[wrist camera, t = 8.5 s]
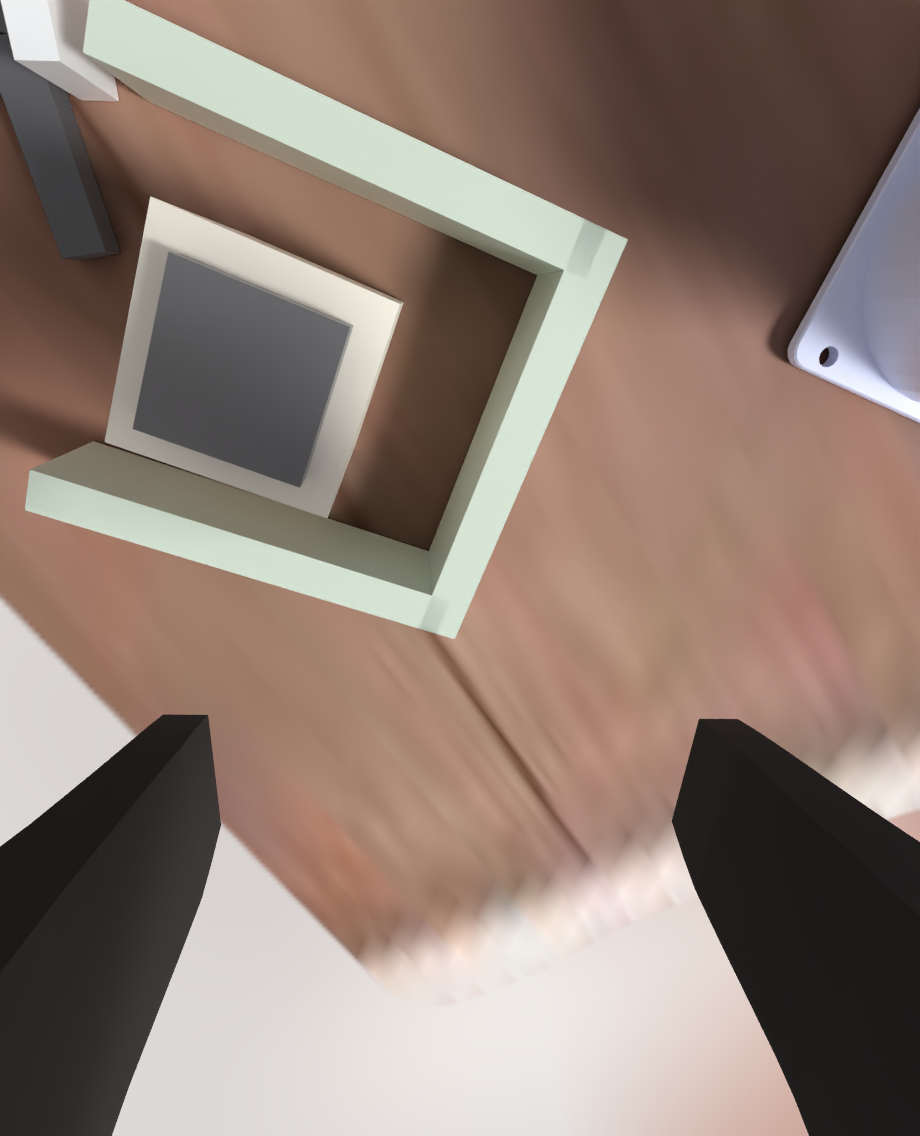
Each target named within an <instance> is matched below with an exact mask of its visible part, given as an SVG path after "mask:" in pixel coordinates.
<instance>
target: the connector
mask: <svg viewBox="0 0 920 1136" xmlns="http://www.w3.org/2000/svg"><path fill="white" fill-rule="evenodd" d="M403 303H404V302H403V301H401V300H398V299H396V298H394V297H391V296H389V295H387V294H384V293H382V292H380V291H377V290H375V289H373V288H371V287H368V286H366V285H364V284H361V283H359V282H357V281H354V280H352V279H350V278H347V277H345V276H343V275H341V274H338V273H336V272H334V271H331V270H329V269H327V268H324V267H322V266H320V265H317V264H315V263H313V262H311V261H308V260H306V259H304V258H301V257H299V256H297V255H294V254H292V253H290V252H287V251H285V250H283V249H281V248H278V247H276V246H274V245H271V244H269V243H267V242H264V241H262V240H260V239H257V238H255V237H253V236H250V235H248V234H246V233H243V232H241V231H238V230H236V229H233V228H230V227H228V226H225V225H223V224H220V223H218V222H215V221H212V220H210V219H207V218H205V217H202V216H200V215H197V214H195V213H192V212H189V211H187V210H184V209H182V208H179V207H177V206H174V205H171V204H169V203H166V202H164V201H161V200H159V199H156V198H154V197H151V196H150V201H149V206H148V212H147V217H146V222H145V228H144V233H143V238H142V244H141V249H140V255H139V260H138V265H137V271H136V276H135V281H134V287H133V292H132V297H131V303H130V308H129V313H128V319H127V324H126V330H125V335H124V340H123V346H122V351H121V356H120V362H119V367H118V372H117V378H116V383H115V389H114V394H113V399H112V405H111V410H110V415H109V421H108V426H107V431H106V437H105V442H106V443H109V444H112V445H115V446H118V447H120V448H123V449H126V450H129V451H132V452H135V453H138V454H141V455H144V456H147V457H149V458H152V459H155V460H158V461H161V462H164V463H167V464H170V465H173V466H176V467H179V468H181V469H184V470H187V471H190V472H193V473H196V474H199V475H202V476H205V477H208V478H211V479H213V480H216V481H219V482H222V483H225V484H228V485H231V486H234V487H237V488H240V489H242V490H245V491H248V492H251V493H254V494H257V495H260V496H263V497H266V498H269V499H272V500H274V501H277V502H280V503H283V504H286V505H289V506H292V507H295V508H298V509H301V510H303V511H306V512H309V513H312V514H315V515H318V516H321V517H324V518H328V516H329V513H330V511H331V508H332V505H333V503H334V500H335V497H336V495H337V492H338V490H339V487H340V484H341V482H342V479H343V476H344V474H345V471H346V468H347V466H348V463H349V461H350V458H351V455H352V453H353V450H354V447H355V444H356V441H357V439H358V436H359V433H360V430H361V427H362V424H363V421H364V418H365V415H366V412H367V409H368V406H369V403H370V400H371V397H372V394H373V391H374V388H375V386H376V383H377V380H378V377H379V374H380V371H381V368H382V365H383V362H384V359H385V356H386V353H387V350H388V347H389V344H390V341H391V338H392V335H393V332H394V330H395V327H396V324H397V321H398V318H399V315H400V312H401V309H402V306H403Z"/></svg>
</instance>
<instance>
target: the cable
mask: <svg viewBox="0 0 920 1136" xmlns="http://www.w3.org/2000/svg"><path fill="white" fill-rule="evenodd" d="M0 93H1V95H2V98H3V101H4V103H5V106H6V109H7V112H8V114H9V117H10V120H11V122H12V125H13V128H14V130H15V133H16V136H17V139H18V141H19V144H20V147H21V149H22V152H23V155H24V157H25V160H26V163H27V165H28V168H29V171H30V174H31V176H32V179H33V182H34V184H35V187H36V190H37V192H38V195H39V198H40V201H41V203H42V206H43V209H44V211H45V214H46V217H47V219H48V222H49V225H50V228H51V230H52V233H53V236H54V238H55V241H56V244H57V246H58V249H59V252H60V254H61V257H62V258H64V259H72V260H84V259H90V258H97V257H103V256H109V255H115V254H121V253H120V250H119V247H118V244H117V241H116V238H115V235H114V232H113V229H112V226H111V223H110V220H109V217H108V214H107V211H106V208H105V205H104V202H103V199H102V196H101V193H100V190H99V187H98V184H97V181H96V178H95V175H94V172H93V169H92V167H91V164H90V161H89V158H88V155H87V152H86V149H85V146H84V143H83V140H82V137H81V134H80V131H79V128H78V125H77V122H76V119H75V116H74V113H73V110H72V107H71V104H70V101H69V98H68V95H67V92H66V91H65V90H63V89H62V88H60V87H58V86H57V85H55V84H53V83H52V82H50V81H48V80H47V79H45V78H43V77H42V76H40V75H38V74H37V73H35V72H33V71H32V70H30V69H28V68H27V67H25V66H23V65H22V64H20V63H19V62H17V61H15V60H14V57H13V52H12V48H11V44H10V39H9V35H8V31H7V26H6V22H5V18H4V13H3V9H2V4H1V0H0Z"/></svg>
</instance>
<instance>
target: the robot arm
mask: <svg viewBox="0 0 920 1136" xmlns="http://www.w3.org/2000/svg"><path fill="white" fill-rule="evenodd" d="M825 348H828V349H829V357H828V359H827V361H826V362H825V363H824V364H822V365H821V364H820V363H819V356H820V353H821V352H822V351H823V350H824V349H825ZM788 358H789V361H790V363H791V364H792V365H794V366H795V367H797V368H799V369H801V370H803V371H805V372H808V373H810V374H812V375H814V376H816V377H819V378H821V379H823V380H825V381H827V382H830V383H832V384H834V385H836V386H838V387H841V388H843V389H845V390H847V391H849V392H852V393H854V394H856V395H858V396H860V397H862V398H865V399H867V400H869V401H871V402H873V403H876V404H878V405H880V406H882V407H884V408H887V409H889V410H891V411H893V412H895V413H898V414H900V415H902V416H904V417H906V418H909V419H911V420H913V421H915V422H917V423H920V108H919V110H918V112H917V114H916V115H915V117H914V119H913V121H912V123H911V124H910V126H909V128H908V130H907V132H906V134H905V135H904V137H903V139H902V141H901V143H900V144H899V146H898V148H897V150H896V152H895V153H894V155H893V157H892V159H891V161H890V162H889V164H888V166H887V168H886V170H885V172H884V173H883V175H882V177H881V179H880V181H879V182H878V184H877V186H876V188H875V190H874V191H873V193H872V195H871V197H870V199H869V201H868V202H867V204H866V206H865V208H864V210H863V211H862V213H861V215H860V217H859V219H858V220H857V222H856V224H855V226H854V228H853V229H852V231H851V233H850V235H849V237H848V239H847V240H846V242H845V244H844V246H843V248H842V249H841V251H840V253H839V255H838V257H837V258H836V260H835V262H834V264H833V266H832V268H831V269H830V271H829V273H828V275H827V277H826V278H825V280H824V282H823V284H822V286H821V287H820V289H819V291H818V293H817V295H816V297H815V298H814V300H813V302H812V304H811V306H810V307H809V309H808V311H807V313H806V315H805V316H804V318H803V320H802V322H801V324H800V325H799V327H798V329H797V331H796V333H795V335H794V336H793V338H792V340H791V342H790V345H789V347H788ZM672 823H673V826H674V829H675V833H676V836H677V839H678V842H679V845H680V848H681V851H682V854H683V857H684V860H685V863H686V866H687V868H688V871H689V874H690V877H691V879H692V882H693V885H694V888H695V890H696V892H697V894H698V896H699V899H700V901H701V903H702V905H703V907H704V909H705V911H706V913H707V916H708V918H709V920H710V922H711V924H712V926H713V928H714V930H715V932H716V934H717V937H718V939H719V941H720V943H721V945H722V947H723V949H724V951H725V953H726V955H727V957H728V959H729V961H730V963H731V965H732V967H733V970H734V972H735V973H736V976H737V978H738V980H739V982H740V984H741V986H742V988H743V990H744V992H745V994H746V996H747V998H748V1000H749V1002H750V1004H751V1006H752V1008H753V1010H754V1013H755V1015H756V1017H757V1019H758V1021H759V1023H760V1025H761V1027H762V1029H763V1030H764V1033H765V1035H766V1037H767V1039H768V1041H769V1043H770V1045H771V1047H772V1049H773V1052H774V1053H775V1056H776V1058H777V1060H778V1062H779V1065H780V1067H781V1069H782V1071H783V1073H784V1076H785V1078H786V1080H787V1083H788V1085H789V1087H790V1089H791V1092H792V1094H793V1096H794V1098H795V1101H796V1103H797V1106H798V1108H799V1111H800V1114H801V1116H802V1119H803V1121H804V1124H805V1126H806V1129H807V1131H808V1134H809V1136H920V842H919V841H917V840H916V839H914V838H913V837H911V836H910V835H908V834H906V833H905V832H904V831H902V830H901V829H899V828H898V827H896V826H895V825H893V824H892V823H890V822H889V821H887V820H886V819H884V818H883V817H881V816H880V815H878V814H877V813H875V812H874V811H872V810H871V809H870V808H868V807H867V806H865V805H864V804H862V803H861V802H859V801H858V800H856V799H855V798H854V797H852V796H851V795H849V794H848V793H846V792H845V791H843V790H842V789H841V788H839V787H838V786H836V785H835V784H833V783H832V782H830V781H829V780H828V779H826V778H825V777H823V776H822V775H820V774H819V773H818V772H816V771H815V770H813V769H812V768H810V767H809V766H808V765H806V764H805V763H803V762H802V761H800V760H799V759H798V758H796V757H795V756H793V755H792V754H790V753H789V752H787V751H786V750H785V749H783V748H782V747H780V746H779V745H777V744H776V743H774V742H773V741H771V740H770V739H768V738H767V737H765V736H764V735H762V734H761V733H759V732H758V731H756V730H755V729H753V728H751V727H750V726H748V725H747V724H745V723H743V722H742V721H740V720H738V719H699V721H698V725H697V729H696V733H695V736H694V740H693V744H692V748H691V751H690V755H689V759H688V763H687V766H686V770H685V774H684V778H683V781H682V785H681V789H680V792H679V796H678V800H677V804H676V807H675V811H674V815H673V819H672ZM220 827H221V821H220V813H219V804H218V796H217V787H216V779H215V770H214V762H213V753H212V745H211V736H210V728H209V719H208V715H162V716H161V717H160V718H158V719H157V720H156V721H155V722H153V723H152V724H151V725H150V726H148V727H147V728H146V729H145V730H144V731H142V732H141V733H140V734H139V735H138V736H136V737H135V738H134V739H133V740H132V741H130V742H129V743H128V744H127V745H126V746H124V747H123V748H122V749H121V750H120V751H119V752H117V753H116V754H115V755H114V756H113V757H111V758H110V759H109V760H108V761H107V762H106V763H104V764H103V765H102V766H101V767H100V768H98V769H97V770H96V771H95V772H94V773H92V774H91V775H90V776H89V777H87V778H86V779H85V780H84V781H83V782H81V783H80V784H79V785H78V786H76V787H75V788H74V789H73V790H72V791H70V792H69V793H68V794H67V795H65V796H64V797H63V798H62V799H61V800H59V801H58V802H57V803H56V804H54V805H53V806H52V807H51V808H49V809H48V810H47V811H46V812H45V813H43V814H42V815H41V816H40V817H38V818H37V819H36V820H35V821H33V822H32V823H31V824H30V825H29V826H27V827H26V828H24V829H23V830H22V831H20V832H19V833H18V834H16V835H15V836H14V837H12V838H11V839H10V840H8V841H7V842H6V843H4V844H3V845H2V846H0V1136H112V1133H113V1130H114V1127H115V1124H116V1122H117V1119H118V1116H119V1113H120V1110H121V1107H122V1105H123V1102H124V1099H125V1096H126V1093H127V1091H128V1088H129V1085H130V1082H131V1080H132V1077H133V1075H134V1072H135V1070H136V1067H137V1064H138V1062H139V1059H140V1057H141V1054H142V1052H143V1049H144V1046H145V1044H146V1041H147V1039H148V1036H149V1034H150V1031H151V1028H152V1026H153V1023H154V1021H155V1018H156V1016H157V1013H158V1010H159V1008H160V1005H161V1003H162V1000H163V998H164V995H165V992H166V990H167V987H168V985H169V982H170V980H171V977H172V974H173V972H174V969H175V967H176V964H177V962H178V959H179V957H180V954H181V951H182V949H183V946H184V943H185V941H186V938H187V936H188V933H189V930H190V928H191V925H192V922H193V920H194V917H195V915H196V912H197V909H198V906H199V904H200V901H201V899H202V896H203V892H204V888H205V884H206V881H207V877H208V874H209V870H210V866H211V863H212V859H213V855H214V850H215V847H216V842H217V839H218V834H219V830H220Z"/></svg>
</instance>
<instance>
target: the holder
mask: <svg viewBox="0 0 920 1136" xmlns="http://www.w3.org/2000/svg"><path fill="white" fill-rule="evenodd" d="M83 53H84V54H86V55H87V56H88V57H90V58H91V59H92V60H93V61H95V62H96V63H97V64H99V65H100V66H101V67H103V68H104V69H105V70H107V71H108V72H109V73H111V74H112V75H113V76H115V77H116V78H117V79H119V80H120V81H121V82H123V83H124V84H125V85H127V86H128V87H129V88H131V89H132V90H133V91H135V92H136V93H137V94H139V95H140V96H141V97H143V98H144V99H145V100H147V101H148V102H150V103H152V104H154V105H156V106H159V107H161V108H163V109H165V110H168V111H170V112H172V113H174V114H177V115H179V116H181V117H183V118H186V119H188V120H190V121H192V122H195V123H197V124H199V125H201V126H204V127H206V128H208V129H210V130H213V131H215V132H217V133H219V134H221V135H224V136H226V137H228V138H230V139H233V140H235V141H237V142H239V143H242V144H244V145H246V146H248V147H251V148H253V149H255V150H257V151H260V152H262V153H264V154H266V155H269V156H271V157H273V158H275V159H278V160H280V161H282V162H284V163H287V164H289V165H291V166H293V167H296V168H298V169H300V170H302V171H304V172H307V173H309V174H311V175H313V176H316V177H318V178H320V179H322V180H325V181H327V182H329V183H331V184H334V185H336V186H338V187H340V188H343V189H345V190H347V191H349V192H352V193H354V194H356V195H358V196H361V197H363V198H365V199H367V200H370V201H372V202H374V203H376V204H379V205H381V206H383V207H385V208H388V209H390V210H392V211H394V212H396V213H399V214H401V215H403V216H405V217H408V218H410V219H412V220H414V221H417V222H419V223H421V224H423V225H426V226H428V227H430V228H432V229H435V230H437V231H439V232H441V233H444V234H446V235H448V236H450V237H453V238H455V239H457V240H459V241H462V242H464V243H466V244H468V245H471V246H473V247H475V248H477V249H479V250H482V251H484V252H486V253H488V254H491V255H493V256H495V257H497V258H500V259H502V260H504V261H506V262H509V263H511V264H513V265H515V266H518V267H520V268H522V269H524V270H527V271H529V272H531V273H533V274H536V275H537V277H536V279H535V282H534V284H533V287H532V290H531V292H530V295H529V297H528V300H527V302H526V305H525V307H524V310H523V312H522V315H521V318H520V320H519V323H518V325H517V328H516V330H515V333H514V335H513V338H512V341H511V343H510V346H509V348H508V351H507V353H506V356H505V358H504V361H503V363H502V366H501V369H500V371H499V374H498V376H497V379H496V381H495V384H494V386H493V389H492V391H491V394H490V397H489V399H488V402H487V404H486V407H485V409H484V412H483V414H482V417H481V420H480V422H479V425H478V427H477V430H476V432H475V435H474V437H473V440H472V442H471V445H470V448H469V450H468V453H467V455H466V458H465V460H464V463H463V465H462V468H461V471H460V473H459V476H458V478H457V481H456V483H455V486H454V488H453V491H452V493H451V496H450V499H449V501H448V504H447V506H446V509H445V511H444V514H443V516H442V519H441V521H440V524H439V527H438V529H437V532H436V534H435V537H434V539H433V542H432V544H431V547H430V550H429V551H426V550H423V549H420V548H417V547H414V546H411V545H408V544H405V543H402V542H399V541H396V540H393V539H390V538H386V537H383V536H380V535H377V534H374V533H371V532H368V531H365V530H362V529H359V528H356V527H353V526H350V525H347V524H344V523H341V522H338V521H335V520H332V519H329V518H324V517H321V516H318V515H315V514H312V513H309V512H306V511H303V510H301V509H298V508H295V507H292V506H289V505H286V504H283V503H280V502H277V501H274V500H271V499H268V498H265V497H262V496H259V495H256V494H253V493H250V492H247V491H244V490H241V489H238V488H235V487H232V486H228V485H225V484H222V483H219V482H216V481H213V480H210V479H207V478H204V477H201V476H198V475H195V474H192V473H189V472H186V471H183V470H180V469H177V468H174V467H171V466H168V465H165V464H162V463H159V462H156V461H153V460H149V459H146V458H143V457H140V456H137V455H134V454H131V453H128V452H125V451H122V450H119V449H116V448H113V447H110V446H107V445H104V444H101V443H98V442H95V441H93V442H90V443H88V444H86V445H84V446H82V447H79V448H77V449H75V450H73V451H70V452H68V453H66V454H64V455H62V456H59V457H57V458H55V459H53V460H50V461H48V462H46V463H44V464H41V465H39V466H37V467H35V468H33V469H30V473H29V481H28V489H27V497H26V505H25V510H26V511H30V512H33V513H36V514H40V515H43V516H46V517H49V518H53V519H56V520H59V521H63V522H66V523H69V524H73V525H76V526H79V527H83V528H86V529H89V530H93V531H96V532H99V533H103V534H106V535H109V536H113V537H116V538H119V539H123V540H126V541H129V542H133V543H136V544H139V545H143V546H146V547H149V548H153V549H156V550H159V551H163V552H166V553H169V554H173V555H176V556H179V557H183V558H186V559H189V560H193V561H196V562H199V563H203V564H206V565H209V566H213V567H216V568H219V569H223V570H226V571H229V572H233V573H236V574H239V575H243V576H246V577H249V578H253V579H256V580H259V581H263V582H266V583H269V584H273V585H276V586H279V587H283V588H286V589H289V590H293V591H296V592H299V593H303V594H306V595H309V596H313V597H316V598H319V599H323V600H326V601H329V602H332V603H336V604H339V605H342V606H346V607H349V608H352V609H356V610H359V611H362V612H366V613H369V614H372V615H376V616H379V617H382V618H386V619H389V620H392V621H396V622H399V623H402V624H406V625H409V626H412V627H416V628H419V629H422V630H426V631H429V632H432V633H436V634H439V635H442V636H446V637H449V638H452V639H455V637H456V635H457V632H458V630H459V628H460V625H461V623H462V621H463V619H464V616H465V614H466V612H467V609H468V607H469V605H470V602H471V600H472V598H473V596H474V593H475V591H476V589H477V586H478V584H479V582H480V579H481V577H482V575H483V572H484V570H485V568H486V566H487V563H488V561H489V559H490V556H491V554H492V552H493V549H494V547H495V545H496V542H497V540H498V538H499V536H500V533H501V531H502V529H503V526H504V524H505V522H506V519H507V517H508V515H509V513H510V510H511V508H512V506H513V503H514V501H515V499H516V496H517V494H518V492H519V489H520V487H521V485H522V483H523V480H524V478H525V476H526V473H527V471H528V469H529V466H530V464H531V462H532V460H533V457H534V455H535V453H536V450H537V448H538V446H539V443H540V441H541V439H542V436H543V434H544V432H545V430H546V427H547V425H548V423H549V420H550V418H551V416H552V413H553V411H554V409H555V406H556V404H557V402H558V400H559V397H560V395H561V393H562V390H563V388H564V386H565V383H566V381H567V379H568V377H569V374H570V372H571V370H572V367H573V365H574V363H575V360H576V358H577V356H578V353H579V351H580V349H581V347H582V344H583V342H584V340H585V337H586V335H587V333H588V330H589V328H590V326H591V324H592V321H593V319H594V317H595V314H596V312H597V310H598V307H599V305H600V303H601V300H602V298H603V296H604V294H605V291H606V289H607V287H608V284H609V282H610V280H611V277H612V275H613V273H614V271H615V268H616V266H617V264H618V261H619V259H620V257H621V254H622V252H623V250H624V247H625V245H626V243H627V241H628V239H626V238H623V237H621V236H619V235H617V234H615V233H613V232H611V231H609V230H607V229H604V228H602V227H600V226H598V225H596V224H594V223H592V222H590V221H588V220H586V219H583V218H581V217H579V216H577V215H575V214H573V213H571V212H569V211H567V210H564V209H562V208H560V207H558V206H556V205H554V204H552V203H550V202H548V201H546V200H543V199H541V198H539V197H537V196H535V195H533V194H531V193H529V192H527V191H524V190H522V189H520V188H518V187H516V186H514V185H512V184H510V183H508V182H506V181H503V180H501V179H499V178H497V177H495V176H493V175H491V174H489V173H487V172H485V171H482V170H480V169H478V168H476V167H474V166H472V165H470V164H468V163H466V162H463V161H461V160H459V159H457V158H455V157H453V156H451V155H449V154H447V153H445V152H442V151H440V150H438V149H436V148H434V147H432V146H430V145H428V144H426V143H423V142H421V141H419V140H417V139H415V138H413V137H411V136H409V135H407V134H405V133H402V132H400V131H398V130H396V129H394V128H392V127H390V126H388V125H386V124H383V123H381V122H379V121H377V120H375V119H373V118H371V117H369V116H367V115H365V114H362V113H360V112H358V111H356V110H354V109H352V108H350V107H348V106H346V105H343V104H341V103H339V102H337V101H335V100H333V99H331V98H329V97H327V96H325V95H322V94H320V93H318V92H316V91H314V90H312V89H310V88H308V87H306V86H304V85H301V84H299V83H297V82H295V81H293V80H291V79H289V78H287V77H285V76H282V75H280V74H278V73H276V72H274V71H272V70H270V69H268V68H266V67H264V66H261V65H259V64H257V63H255V62H253V61H251V60H249V59H247V58H245V57H242V56H240V55H238V54H236V53H234V52H232V51H230V50H228V49H226V48H224V47H221V46H219V45H217V44H215V43H213V42H211V41H209V40H207V39H205V38H202V37H200V36H198V35H196V34H194V33H192V32H190V31H188V30H186V29H184V28H181V27H179V26H177V25H175V24H173V23H171V22H169V21H167V20H165V19H163V18H160V17H158V16H156V15H154V14H152V13H150V12H148V11H146V10H144V9H141V8H139V7H137V6H135V5H133V4H131V3H129V2H127V1H125V0H89V7H88V15H87V23H86V31H85V39H84V47H83Z"/></svg>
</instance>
